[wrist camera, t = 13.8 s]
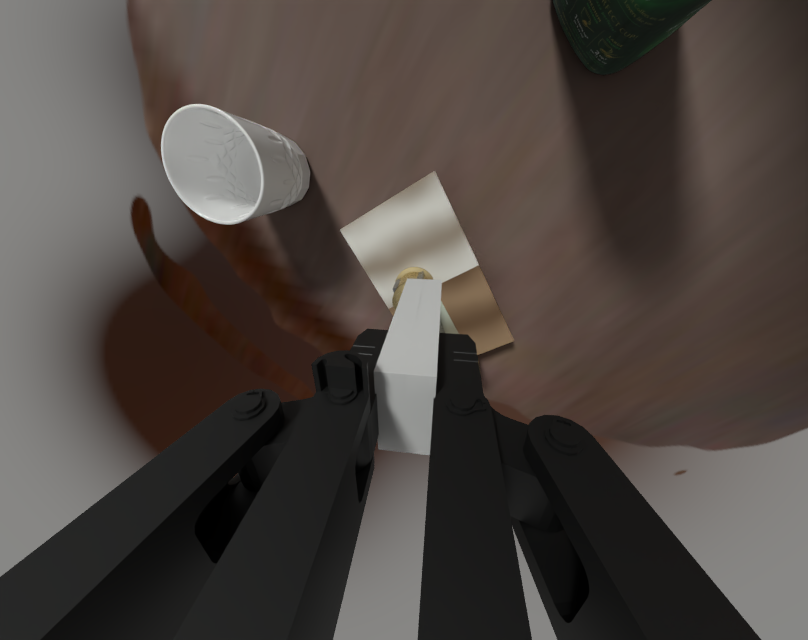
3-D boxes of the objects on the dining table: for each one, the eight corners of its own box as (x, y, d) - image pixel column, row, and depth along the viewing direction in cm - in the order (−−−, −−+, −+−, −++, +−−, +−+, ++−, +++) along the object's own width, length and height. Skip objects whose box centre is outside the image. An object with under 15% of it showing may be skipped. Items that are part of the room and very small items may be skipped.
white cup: (243, 116, 29) (153, 89, 20) (320, 138, 29) (265, 121, 20) (243, 200, 32) (167, 209, 23) (312, 219, 32) (262, 236, 23)
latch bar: (393, 277, 31) (386, 290, 28) (424, 267, 30) (422, 279, 27) (426, 362, 36) (424, 383, 32) (455, 355, 35) (456, 376, 31)
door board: (345, 227, 32) (327, 235, 27) (435, 171, 29) (433, 170, 24) (429, 364, 39) (427, 391, 34) (510, 332, 35) (521, 357, 30)
